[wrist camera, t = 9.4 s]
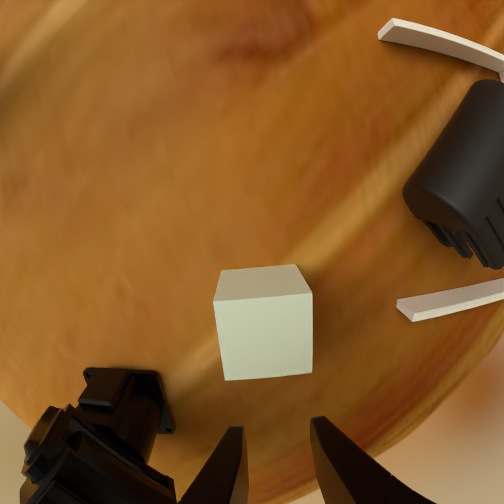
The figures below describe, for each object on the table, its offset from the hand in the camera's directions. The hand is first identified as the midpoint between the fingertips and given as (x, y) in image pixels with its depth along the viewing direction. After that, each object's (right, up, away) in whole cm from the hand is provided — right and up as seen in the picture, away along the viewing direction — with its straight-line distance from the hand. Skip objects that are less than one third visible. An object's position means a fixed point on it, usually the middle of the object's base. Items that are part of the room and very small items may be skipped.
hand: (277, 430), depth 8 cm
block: (0, +2, +11) cm, 11 cm away
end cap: (+13, +11, +9) cm, 20 cm away
